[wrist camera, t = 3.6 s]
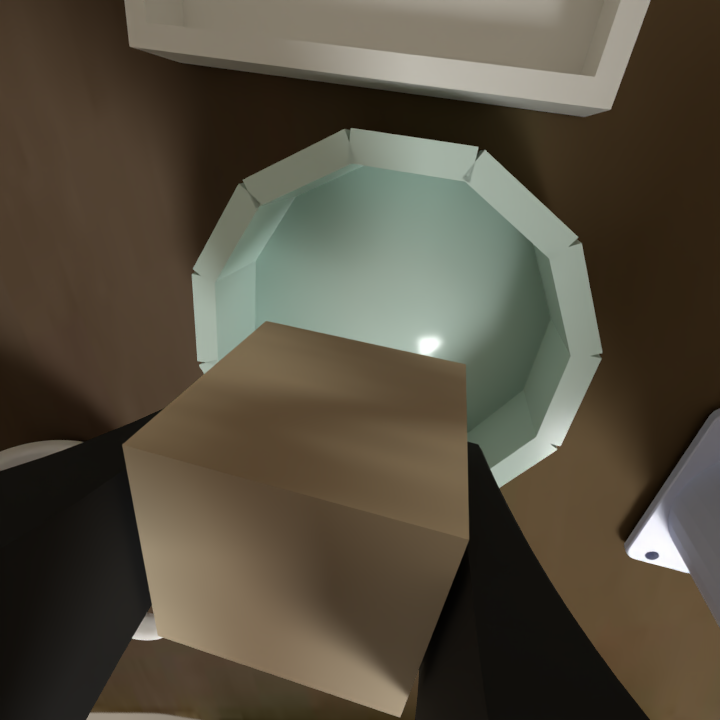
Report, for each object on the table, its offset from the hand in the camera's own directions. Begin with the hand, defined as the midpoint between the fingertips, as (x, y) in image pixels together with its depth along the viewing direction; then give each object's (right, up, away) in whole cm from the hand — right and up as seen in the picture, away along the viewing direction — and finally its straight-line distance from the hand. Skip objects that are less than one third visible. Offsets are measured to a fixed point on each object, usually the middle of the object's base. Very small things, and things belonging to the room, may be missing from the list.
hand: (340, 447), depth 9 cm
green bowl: (+2, +3, +7) cm, 8 cm away
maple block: (0, 0, +1) cm, 1 cm away
